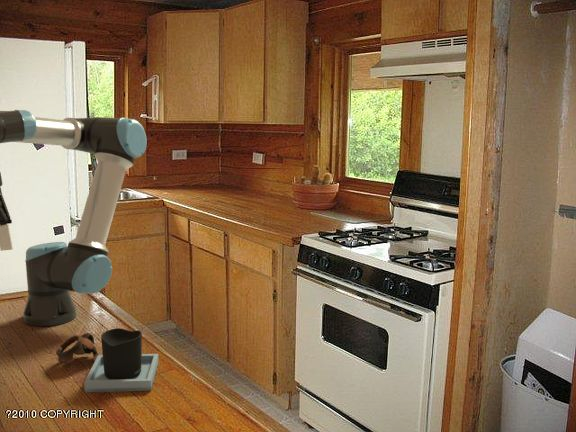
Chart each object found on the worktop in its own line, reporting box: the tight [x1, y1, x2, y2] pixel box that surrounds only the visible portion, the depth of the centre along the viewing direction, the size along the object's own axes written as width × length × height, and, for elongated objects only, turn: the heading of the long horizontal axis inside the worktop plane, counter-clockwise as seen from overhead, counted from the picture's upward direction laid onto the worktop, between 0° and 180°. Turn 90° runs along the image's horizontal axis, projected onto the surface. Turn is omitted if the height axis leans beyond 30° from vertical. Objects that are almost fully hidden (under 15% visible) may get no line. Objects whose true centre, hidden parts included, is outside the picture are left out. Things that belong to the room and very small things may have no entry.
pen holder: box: [100, 327, 143, 380], centre depth 145 cm, size 9×9×10 cm
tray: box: [83, 353, 159, 393], centre depth 146 cm, size 15×15×2 cm
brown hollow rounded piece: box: [55, 332, 100, 364], centre depth 154 cm, size 12×10×8 cm
